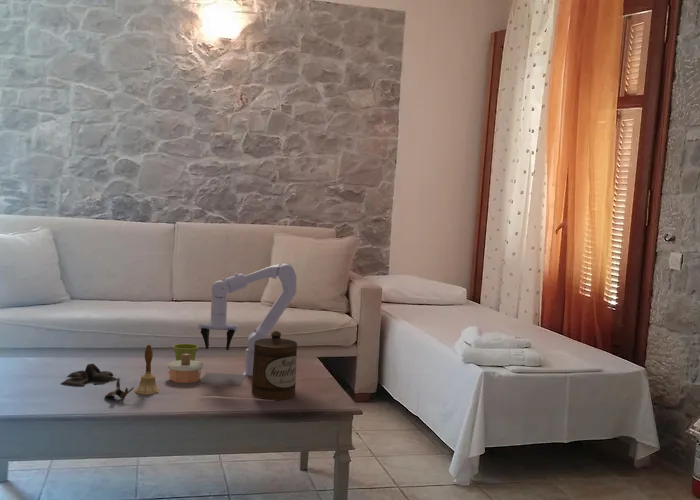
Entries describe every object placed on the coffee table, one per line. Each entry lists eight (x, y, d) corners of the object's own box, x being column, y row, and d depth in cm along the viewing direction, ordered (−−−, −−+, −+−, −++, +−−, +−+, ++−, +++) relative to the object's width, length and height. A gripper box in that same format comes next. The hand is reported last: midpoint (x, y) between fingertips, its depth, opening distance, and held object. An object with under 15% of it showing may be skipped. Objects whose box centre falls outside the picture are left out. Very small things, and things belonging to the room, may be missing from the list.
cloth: (59, 389, 251) (60, 371, 250) (60, 375, 268) (61, 358, 268) (129, 386, 259) (129, 369, 258) (125, 373, 276) (125, 356, 275)
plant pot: (170, 366, 287) (170, 344, 286) (194, 364, 291) (195, 343, 291) (175, 372, 279) (175, 349, 278) (200, 370, 283) (200, 348, 282)
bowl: (201, 377, 273) (202, 364, 273) (196, 385, 263) (196, 371, 263) (174, 376, 273) (175, 362, 273) (167, 383, 263) (168, 369, 263)
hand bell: (162, 393, 250) (164, 347, 249) (137, 395, 247) (139, 348, 245) (157, 387, 258) (158, 341, 256) (132, 389, 254) (133, 342, 253)
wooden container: (272, 403, 246) (275, 337, 245) (242, 393, 256) (245, 330, 254) (303, 395, 258) (307, 332, 256) (274, 386, 267) (277, 325, 265)
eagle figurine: (138, 395, 243) (123, 384, 248) (130, 380, 239) (115, 370, 244) (119, 411, 239) (104, 399, 244) (111, 396, 235) (95, 385, 240)
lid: (209, 365, 272) (209, 353, 271) (192, 372, 260) (192, 360, 259) (179, 361, 275) (179, 349, 275) (161, 368, 263) (161, 356, 263)
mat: (246, 376, 278) (246, 374, 278) (240, 387, 263) (240, 385, 263) (206, 374, 278) (206, 372, 278) (197, 384, 264) (197, 383, 263)
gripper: (239, 312, 282) (238, 347, 283) (201, 310, 282) (200, 345, 283) (236, 315, 275) (235, 351, 276) (197, 313, 275) (196, 349, 276)
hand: (217, 348), depth 279 cm, fingers open, 7 cm apart
